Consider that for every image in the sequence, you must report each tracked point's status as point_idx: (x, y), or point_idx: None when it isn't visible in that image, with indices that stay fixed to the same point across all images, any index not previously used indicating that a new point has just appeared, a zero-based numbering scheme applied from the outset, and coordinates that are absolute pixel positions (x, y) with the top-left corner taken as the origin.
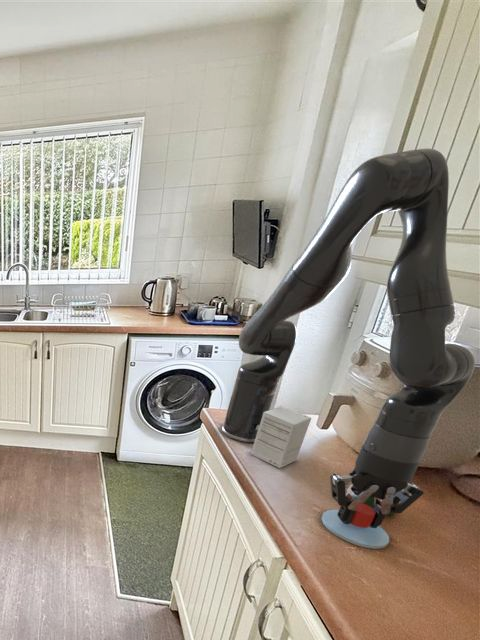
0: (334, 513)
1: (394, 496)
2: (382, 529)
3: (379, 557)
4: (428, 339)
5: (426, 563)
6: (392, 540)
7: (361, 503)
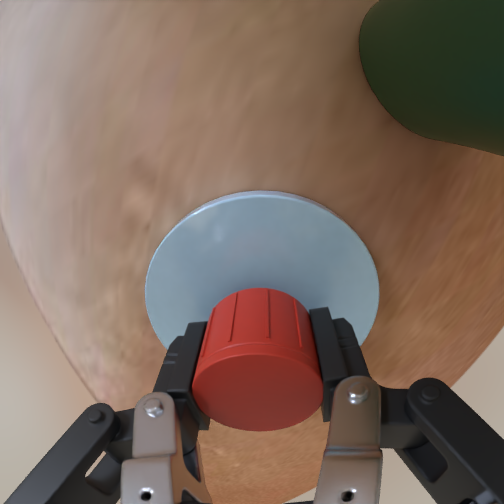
0: (197, 246)
1: (444, 456)
2: (374, 292)
3: None
4: None
5: (408, 372)
6: (384, 312)
7: (274, 361)
